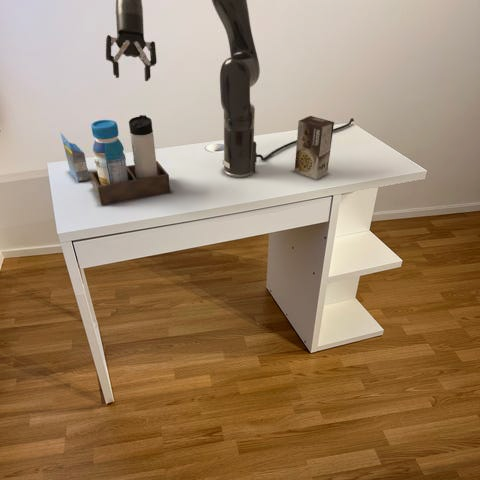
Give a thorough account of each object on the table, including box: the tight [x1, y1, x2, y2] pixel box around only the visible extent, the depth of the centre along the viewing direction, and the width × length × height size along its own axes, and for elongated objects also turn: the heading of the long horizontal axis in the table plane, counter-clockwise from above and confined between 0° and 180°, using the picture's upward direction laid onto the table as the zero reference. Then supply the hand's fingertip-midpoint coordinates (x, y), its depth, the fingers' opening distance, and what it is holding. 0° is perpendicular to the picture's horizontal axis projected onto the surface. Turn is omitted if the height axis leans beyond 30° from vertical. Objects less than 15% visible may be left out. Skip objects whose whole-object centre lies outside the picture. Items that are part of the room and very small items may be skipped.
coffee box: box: [294, 115, 335, 180], centre depth 143 cm, size 9×6×16 cm
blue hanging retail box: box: [60, 133, 90, 183], centre depth 140 cm, size 9×4×12 cm, turn 32°
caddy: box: [89, 160, 171, 206], centre depth 134 cm, size 20×11×6 cm, turn 115°
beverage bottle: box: [91, 119, 128, 186], centre depth 128 cm, size 8×8×20 cm
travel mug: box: [128, 114, 158, 179], centre depth 131 cm, size 6×7×20 cm
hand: (132, 79), depth 135 cm, fingers open, 8 cm apart
